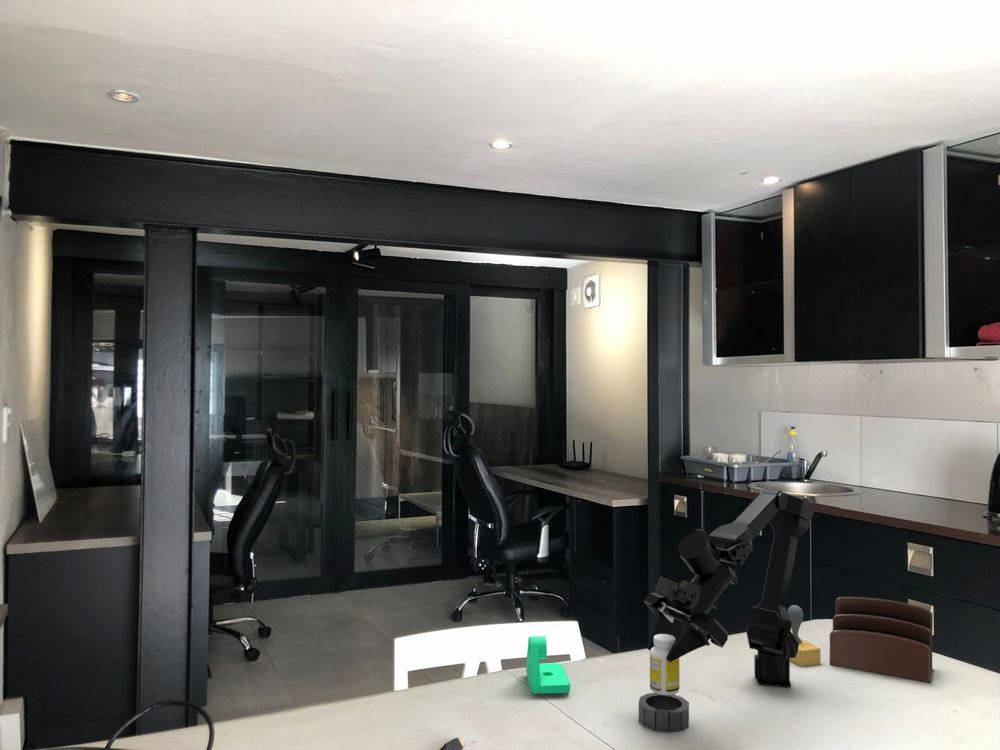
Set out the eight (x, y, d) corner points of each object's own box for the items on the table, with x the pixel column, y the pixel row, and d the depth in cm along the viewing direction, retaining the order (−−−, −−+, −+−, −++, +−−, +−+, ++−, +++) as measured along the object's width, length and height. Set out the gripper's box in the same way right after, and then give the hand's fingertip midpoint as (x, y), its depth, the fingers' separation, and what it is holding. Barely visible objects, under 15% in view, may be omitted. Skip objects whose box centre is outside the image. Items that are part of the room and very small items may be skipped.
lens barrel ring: (689, 714, 147) (689, 695, 147) (688, 735, 139) (688, 715, 139) (641, 708, 150) (641, 690, 150) (636, 728, 141) (637, 709, 141)
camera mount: (571, 698, 155) (571, 646, 155) (533, 699, 154) (533, 647, 154) (561, 675, 167) (561, 627, 167) (526, 676, 166) (526, 627, 166)
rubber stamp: (770, 652, 181) (770, 600, 181) (790, 649, 183) (791, 598, 183) (800, 667, 172) (800, 612, 172) (821, 664, 174) (821, 610, 174)
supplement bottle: (680, 686, 146) (681, 634, 146) (677, 698, 141) (677, 644, 141) (651, 682, 148) (652, 631, 148) (647, 693, 143) (647, 640, 143)
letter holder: (835, 652, 182) (835, 591, 182) (932, 669, 171) (932, 605, 172) (829, 665, 173) (829, 602, 173) (930, 684, 163) (931, 616, 163)
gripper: (651, 551, 154) (604, 614, 150) (714, 573, 137) (664, 645, 133) (683, 586, 158) (638, 649, 153) (749, 611, 141) (701, 683, 136)
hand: (658, 655), depth 144 cm, fingers closed on supplement bottle, 5 cm apart
